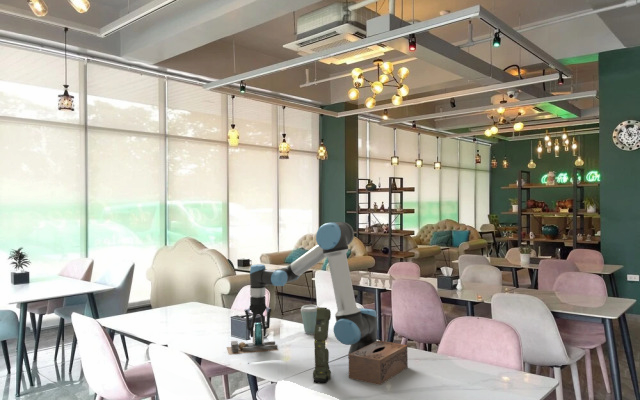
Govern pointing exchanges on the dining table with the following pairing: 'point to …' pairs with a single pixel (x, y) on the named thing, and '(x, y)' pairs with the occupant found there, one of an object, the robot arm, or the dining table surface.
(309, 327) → the disposable coffee cup
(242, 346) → the walnut
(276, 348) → the press base
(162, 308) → the dining table surface
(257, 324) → the ram
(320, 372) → the mechanical leg
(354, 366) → the tissue box cover
